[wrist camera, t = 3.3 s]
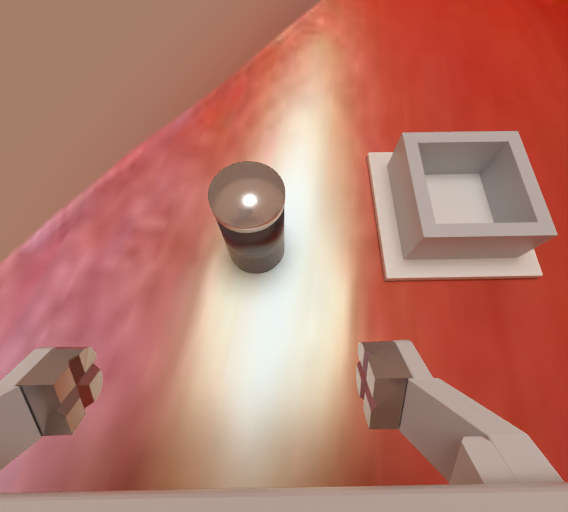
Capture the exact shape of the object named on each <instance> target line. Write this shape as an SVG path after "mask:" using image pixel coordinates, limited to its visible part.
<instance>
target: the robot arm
mask: <svg viewBox="0 0 568 512" xmlns="http://www.w3.org/2000/svg"><path fill="white" fill-rule="evenodd" d="M358 355H359V358H360V361H359V362H358V364H357V367H356V379H357V387H358V392H359V395H360V397H361V398H362V399H363V400H364V407H363V410H364V413H365V416H366V420H367V423H368V427H369V429H400V430H399V431H400V432H401V433H402V434H403V435H404V436H405V437H406V438H407V439H408V440H409V441H410V442H411V443H412V444H413V445H414V446H415V447H416V448H417V449H418V450H419V451H420V453H421V454H422V455H423V456H424V457H425V458H426V459H427V460H428V461H429V462H430V463H431V464H432V465H433V466H434V467H435V468H436V469H437V470H438V471H439V472H440V473H441V474H442V475H443V476H444V477H445V478H446V479H447V480H448V482H449V483H450V484H449V485H398V486H342V487H289V488H236V489H182V490H128V491H74V492H21V493H0V512H568V482H564V481H563V479H562V478H561V477H560V476H559V474H558V473H557V472H556V470H555V469H554V468H553V467H552V465H551V464H550V463H549V461H548V460H547V459H546V458H545V456H544V455H543V454H542V452H541V451H540V450H539V449H538V447H537V446H536V445H535V444H534V442H533V441H532V440H531V438H530V437H529V436H528V435H527V434H526V433H524V432H523V431H521V430H520V429H518V428H516V427H515V426H513V425H512V424H510V423H509V422H507V421H505V420H504V419H502V418H501V417H499V416H498V415H496V414H494V413H493V412H491V411H490V410H488V409H486V408H485V407H483V406H482V405H480V404H479V403H477V402H475V401H474V400H472V399H471V398H469V397H468V396H466V395H464V394H463V393H461V392H460V391H458V390H456V389H455V388H453V387H452V386H450V385H449V384H447V383H445V382H444V381H442V380H441V379H439V378H433V377H432V375H431V373H430V372H429V370H428V368H427V367H426V365H425V363H424V362H423V360H422V358H421V357H420V355H419V353H418V352H417V350H416V348H415V347H414V345H413V343H412V342H411V341H410V340H395V341H378V342H359V346H358ZM96 358H97V357H96V354H95V351H94V349H92V348H90V347H40V348H37V349H35V350H34V351H32V352H31V353H30V354H29V355H28V356H27V357H26V358H25V359H24V360H23V361H22V362H20V363H19V364H18V365H17V366H16V367H15V368H14V369H13V370H12V371H11V372H10V373H8V374H7V375H6V376H5V377H4V378H3V379H2V380H1V381H0V470H1V469H2V468H4V467H5V466H6V465H7V464H9V463H10V462H11V461H12V460H14V459H15V458H16V457H18V456H19V455H20V454H21V453H23V452H24V451H25V450H26V449H28V448H29V447H30V446H32V445H33V444H34V443H35V442H37V441H38V440H39V439H40V438H41V436H51V435H72V434H73V433H74V431H75V430H76V428H77V427H78V425H79V424H80V422H81V421H82V419H83V418H84V416H85V415H86V412H85V408H86V407H87V406H89V405H90V404H92V403H93V402H94V401H95V400H96V398H97V397H98V395H99V394H100V390H101V387H102V373H101V370H100V369H99V368H98V367H97V366H96V365H95V364H94V362H95V360H96Z"/></svg>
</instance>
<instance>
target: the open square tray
mask: <svg viewBox="0 0 568 512" xmlns="http://www.w3.org/2000/svg"><path fill="white" fill-rule="evenodd" d="M367 163H368V170H369V177H370V184H371V190H372V197H373V204H374V211H375V218H376V225H377V232H378V238H379V245H380V252H381V259H382V266H383V273H384V280H385V281H398V280H454V279H511V278H539V277H541V276H543V274H542V271H541V268H540V265H539V263H538V260H537V257H536V254H535V251H534V248H536V247H538V246H539V245H541V244H543V243H545V242H547V241H548V240H550V239H552V238H554V237H555V236H557V235H558V234H557V232H556V229H555V226H554V224H553V221H552V219H551V216H550V213H549V211H548V208H547V206H546V203H545V200H544V198H543V195H542V193H541V190H540V187H539V185H538V182H537V180H536V177H535V174H534V172H533V169H532V167H531V164H530V161H529V159H528V156H527V154H526V151H525V148H524V146H523V143H522V141H521V138H520V135H519V133H518V131H487V132H416V133H402V135H401V137H400V139H399V141H398V143H397V145H396V148H395V150H394V152H376V153H368V155H367Z"/></svg>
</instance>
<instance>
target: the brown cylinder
mask: <svg viewBox="0 0 568 512" xmlns="http://www.w3.org/2000/svg"><path fill="white" fill-rule="evenodd" d="M208 200H209V204H210V207H211V209H212V212H213V214H214V216H215V218H216V219H217V222H218V225H219V227H220V230H221V232H222V235H223V237H224V240H225V242H226V245H227V247H228V250H229V252H230V255H231V257H232V260H233V261H234V263H235V264H236V265H237V266H238V267H239V268H240V269H242V270H244V271H246V272H249V273H264V272H267V271H269V270H271V269H273V268H274V267H275V266H276V265H277V264H278V263H279V262H280V260H281V258H282V256H283V253H284V205H285V187H284V183H283V181H282V179H281V177H280V176H279V175H278V173H277V172H276V171H275V170H273V169H272V168H270V167H269V166H267V165H265V164H262V163H258V162H253V161H245V162H238V163H234V164H232V165H229V166H227V167H225V168H224V169H222V170H221V171H220V172H219V173H218V174H217V175H216V176H215V177H214V179H213V180H212V182H211V184H210V187H209V191H208Z"/></svg>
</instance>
